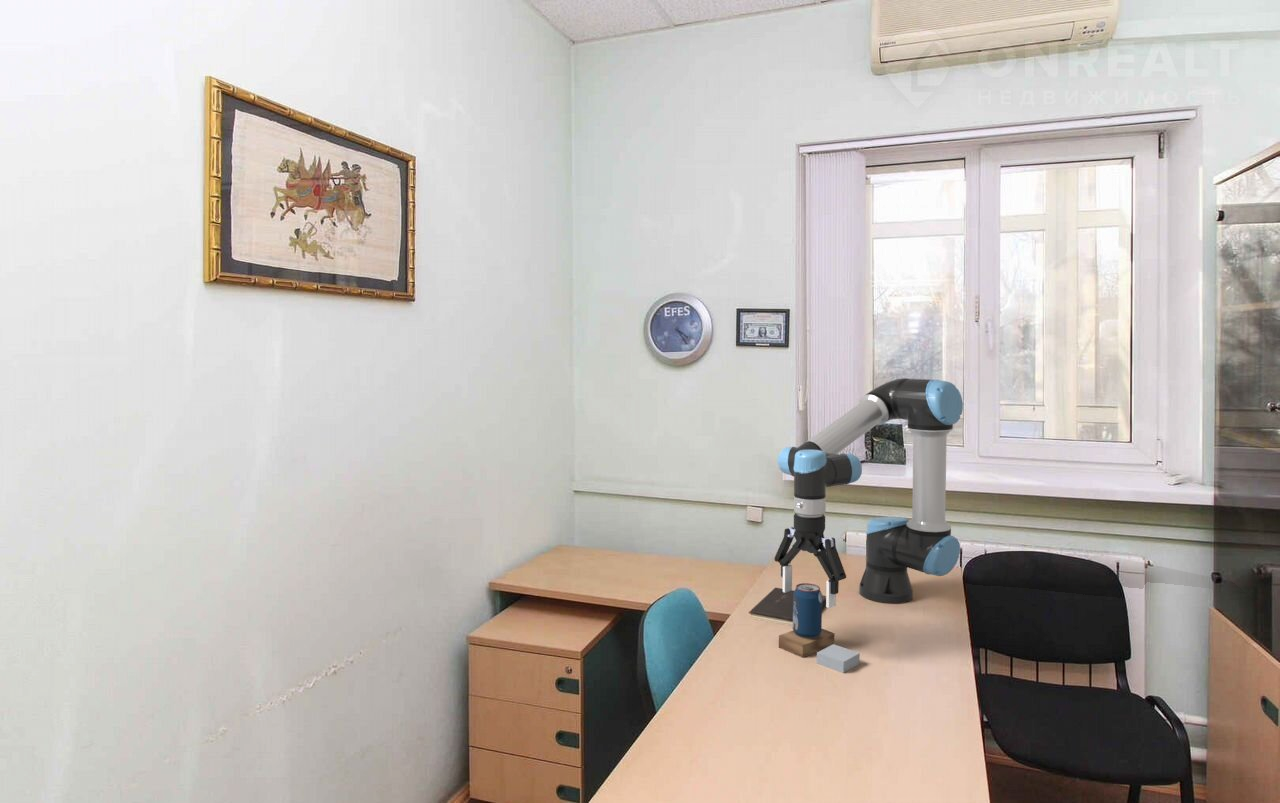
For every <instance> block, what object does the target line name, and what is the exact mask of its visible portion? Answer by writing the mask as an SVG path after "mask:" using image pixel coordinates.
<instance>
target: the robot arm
mask: <svg viewBox="0 0 1280 803" xmlns="http://www.w3.org/2000/svg"><path fill="white" fill-rule="evenodd" d="M860 398H861V399H859V403H858V404H856V406H854V407H852V408H851V409H850V410H847V411H846V412H845V413H844V414H843V415H841V416H840V417H839V418H837V419H836V420H834V421H833V422H831V423H830V424H828V425H827V426H826V427H824V428H823V429H821V431H819V432H818V433H816V434H814V435H813V436H812V437H810V438H809V439H808V440H806V441H805V442H804V443H802V444H801V445H800V446H798V447H796V446H787V447H784V448H783V449H781V451H780V453H779V455H778V458H777V464H778V468H779V470H780V471H781V472H782V473H783V474H785V475H789V476H792V477H793V512H794V514H793V526H791V527H788V528H784V532H783V537H782V540H781V542H780V545H779V547H778V550H776V551H777V552H776V554H775V556H774V558H773V559H774V562H776V563H779V565H780V577H781V578H782V589H783V592H788V591H791V590H793V565H792V564H791V563H792V561H793V560H794V558H796V557H797V555H798V554H799V553H800V552H801V551H802V552H807V553H810V554H813V556H814V557H815V558H817V560H818V561H819V563H820V565H821V568H822V569H823V571H824V572H825V575H826V576H827V577H828V579H827V580H826V583H825V584H826V586H825V587H826V594H825V596H826V606H825V607H826V608H827V609H829V608H832V607H835V606H837V594H839V588H840V587H839V585H840V584H839V581H842V580H845V579H847V575H846V572H845V569H844V566H843V563H842V561H841V558H840V555H839V552H838V550H837V546H836V544H837V543H836V539H835V538H834V537H830V538H828V537H827V538H826V537H825V535H824V531H825V530H826V515H825V514H826V512H827V511H826V506H827V505H826V501H827V500H826V499H827V498H826V497H827V496H826V494H827V493H826V490H827V489H826V488H831V487H837V486H842V485H846V486H847V485H849V484H852V483H855V482H857V481H859V480H860V478H861V476H862V474H863V473H862V472H863V466H862V462H861V460H860V459H859V457H858V456H857V455H855V454H853V453H843V452H842V451H843V450H844V449H846V448H847V447H849V446H850V445H852V444H853V443H854V442H856V440H858V439H859V438H860V437H862V436H863V435H865V434H866V433H868V432H869V431H870V430H871V429H872V428H874V427H875V426H881V425H884V424H886V423H887V422H888V421H891V420H906V421H907V429H908V430H909V431H910V433H912V435H913V437H912V438H913V439H912V442H913V444H912V445H913V446H912V506H911V507H912V508H911V510H912V511H911V512H912V516H911V517H912V518H911V519H910V520H909V519H908V518H906V517H901V516H900V517H899V516H883V517H876V518H871V519H870V520H869V521H868V523H867V527H866V528H867V529H866V533H865V534H866V542H865V543H866V545H865V546H866V550H865V552H866V553H865V570H864V572H863V574H862V576H861V579H860V582H859V586H858V587H859V588H858V592H859V595H860V596H862V597H863V598H865V599H868V600H870V601H874V602H879V603H884V604H902V603H903V604H905V603H907V602H910V601H912V600H913V594H914V590H913V586H912V584H911V580H910V577H909V573H908V569H912V570H915V571H918V572H920V573H924V574H925V575H932V576H936V577H943V576H946V575H947V574H949V573H951V571H953V570H954V567H955V566H956V565H957V563H958V561H959V558H960V554H961V544H960V542H959V540H958V538H957V537H955V536H954V535H952V526H951V524H949V523H948V521H946V495H947V494H946V487H947V482H946V481H947V480H946V479H947V436H948V434H949V433H950V432H951V431H953V429H954V425H955V424H956V423H958V422H959V420H961V415H962V414H963V410H964V404H963V398H962V394H961V392H960V390H959V389H958V388H957V386H956V385H955V384H953V383H952V382H951V381H946V380H940V379H927V378H926V379H921V378H916V379H915V378H897V379H894V380H890V381H887V382H885V383H883V384H881V385H879V386H877V387H875V388H874V389H872V390H871V391H869V392H867V393H866V394H864V395H863V396H862V397H860ZM841 452H842V453H841ZM839 453H840V454H839ZM794 539H795V542H794V543H793V540H794ZM792 543H793V544H792ZM790 547H791V548H790Z"/></svg>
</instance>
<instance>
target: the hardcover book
mask: <svg viewBox="0 0 1280 803" xmlns="http://www.w3.org/2000/svg"><path fill="white" fill-rule="evenodd" d="M794 591H795V590H793V589H792V590H791V591H788V592H783V588H781V587H780V588H779V587H774V588H773V589H772V590H771V591H769V592H768V594H767V595H765V596H764V597H763V598H762V599H761V600H760V601H759V602H758V603H757V604H755V605H754V607H752V608H751V610H749V611H748V614H749V617H750V619H752V620H759V621H762V622H769V623H772V624H773V623H775V624H778V625H784V626H789V627H793V593H794ZM825 607H826V595H823V594H822V610H824V609H825Z"/></svg>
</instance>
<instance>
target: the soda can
mask: <svg viewBox="0 0 1280 803" xmlns="http://www.w3.org/2000/svg"><path fill="white" fill-rule="evenodd" d="M793 591H794V593H793V626H792V631H793V630H794V632H795V634H796V635H797V636H798V637H801V638H805V639H814V638H817V637H818V636H819V634H820V633H821V628H822V629H823V627H822V623H823V621H822V619H823V617H822V616H823V615H822V614H823V609H822V595H823V593H822V591H821V587H820V586H819V585H817V584H815V583H809V582H807V583H806V582H803V583H798V584H796V585H795V589H794V590H793Z"/></svg>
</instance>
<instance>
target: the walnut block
mask: <svg viewBox="0 0 1280 803" xmlns="http://www.w3.org/2000/svg"><path fill="white" fill-rule="evenodd" d="M833 644H834V645H835V632H832V631H829V630H826V629H824V628H823V627H822V628H821V633H820V634H819V636H818V637H817V638H814V639H805V638H801V637H798V636H797V635H796V634H795V632H794V630H793V629H792V630H790V631H788V632H785V633H783V634H779V635H778V648H780V649H782V650H784V651H787V652H788V653H790V654H793V655H796V656H798V657H800V658H805V657H808V656H810V655H813V654H814V653H817V652H819V651H821V650H823V649H825V648H827V647H829V646H831V645H833Z"/></svg>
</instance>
